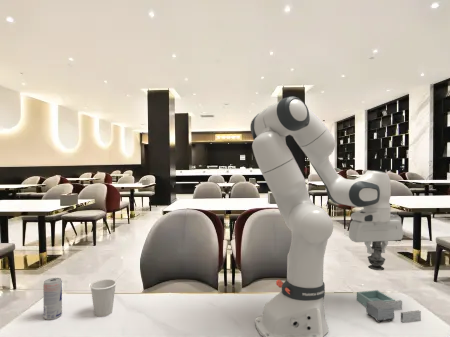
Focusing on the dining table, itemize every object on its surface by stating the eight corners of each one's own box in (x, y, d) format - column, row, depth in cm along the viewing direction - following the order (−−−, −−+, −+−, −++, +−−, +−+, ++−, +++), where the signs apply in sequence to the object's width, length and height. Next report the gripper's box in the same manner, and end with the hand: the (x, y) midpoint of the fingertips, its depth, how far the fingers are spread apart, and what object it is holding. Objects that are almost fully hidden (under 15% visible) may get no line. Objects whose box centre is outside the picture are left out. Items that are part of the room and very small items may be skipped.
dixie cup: (86, 312, 106) (86, 283, 106) (109, 304, 112) (109, 277, 112) (96, 321, 100) (96, 290, 100) (120, 312, 106) (120, 283, 106)
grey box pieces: (381, 325, 99) (381, 311, 99) (363, 312, 107) (363, 299, 107) (420, 320, 102) (420, 306, 102) (400, 308, 111) (400, 295, 111)
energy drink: (62, 311, 107) (62, 276, 107) (60, 318, 102) (60, 282, 102) (45, 314, 105) (45, 278, 105) (42, 321, 100) (42, 284, 100)
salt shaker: (387, 271, 110) (387, 237, 110) (369, 270, 111) (369, 236, 111) (382, 266, 116) (383, 233, 115) (365, 264, 117) (366, 232, 117)
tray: (373, 311, 108) (373, 302, 108) (356, 300, 117) (356, 292, 117) (395, 308, 110) (395, 300, 110) (377, 298, 119) (377, 290, 119)
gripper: (394, 213, 119) (393, 249, 119) (346, 214, 114) (346, 252, 114) (407, 215, 112) (407, 253, 113) (357, 217, 108) (357, 257, 108)
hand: (376, 253), depth 113 cm, fingers closed on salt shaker, 3 cm apart
